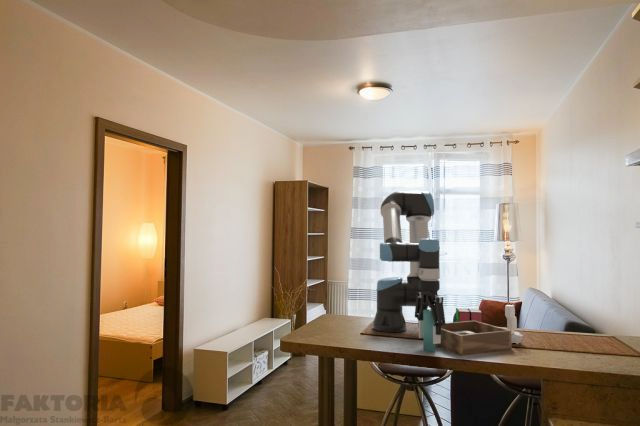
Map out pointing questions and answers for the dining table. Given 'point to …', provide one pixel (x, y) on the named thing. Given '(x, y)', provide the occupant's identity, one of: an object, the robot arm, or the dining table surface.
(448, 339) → the crate
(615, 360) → the dining table surface
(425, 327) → the teal peg
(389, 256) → the robot arm
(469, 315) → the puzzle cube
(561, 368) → the dining table surface
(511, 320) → the figurine
